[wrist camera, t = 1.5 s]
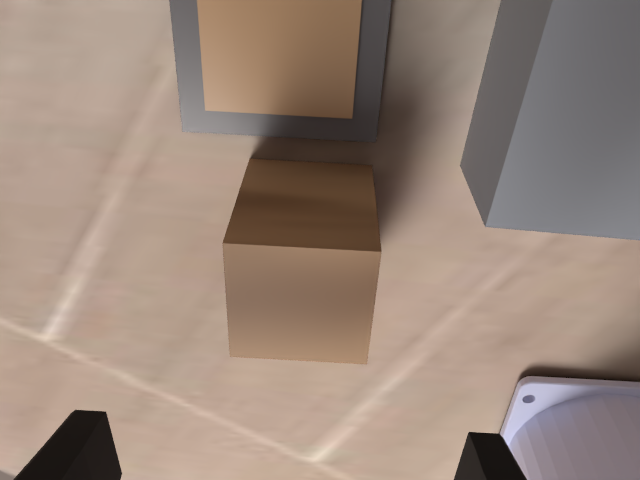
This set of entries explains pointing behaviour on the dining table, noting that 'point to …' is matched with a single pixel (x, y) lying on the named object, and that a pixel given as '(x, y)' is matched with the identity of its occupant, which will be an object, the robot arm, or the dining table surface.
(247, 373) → the dining table surface
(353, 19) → the card
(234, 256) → the walnut block
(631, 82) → the slate base block
